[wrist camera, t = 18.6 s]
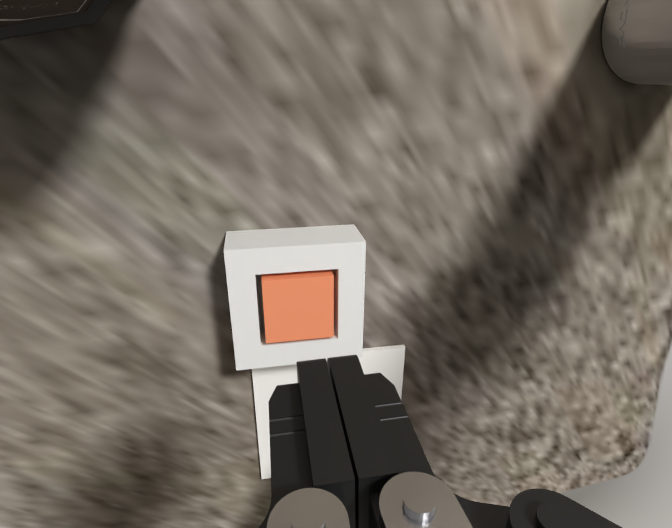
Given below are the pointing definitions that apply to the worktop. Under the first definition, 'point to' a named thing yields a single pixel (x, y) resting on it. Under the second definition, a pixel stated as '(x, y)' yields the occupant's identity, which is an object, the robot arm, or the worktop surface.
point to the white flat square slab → (268, 378)
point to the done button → (298, 305)
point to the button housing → (294, 256)
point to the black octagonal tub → (46, 15)
